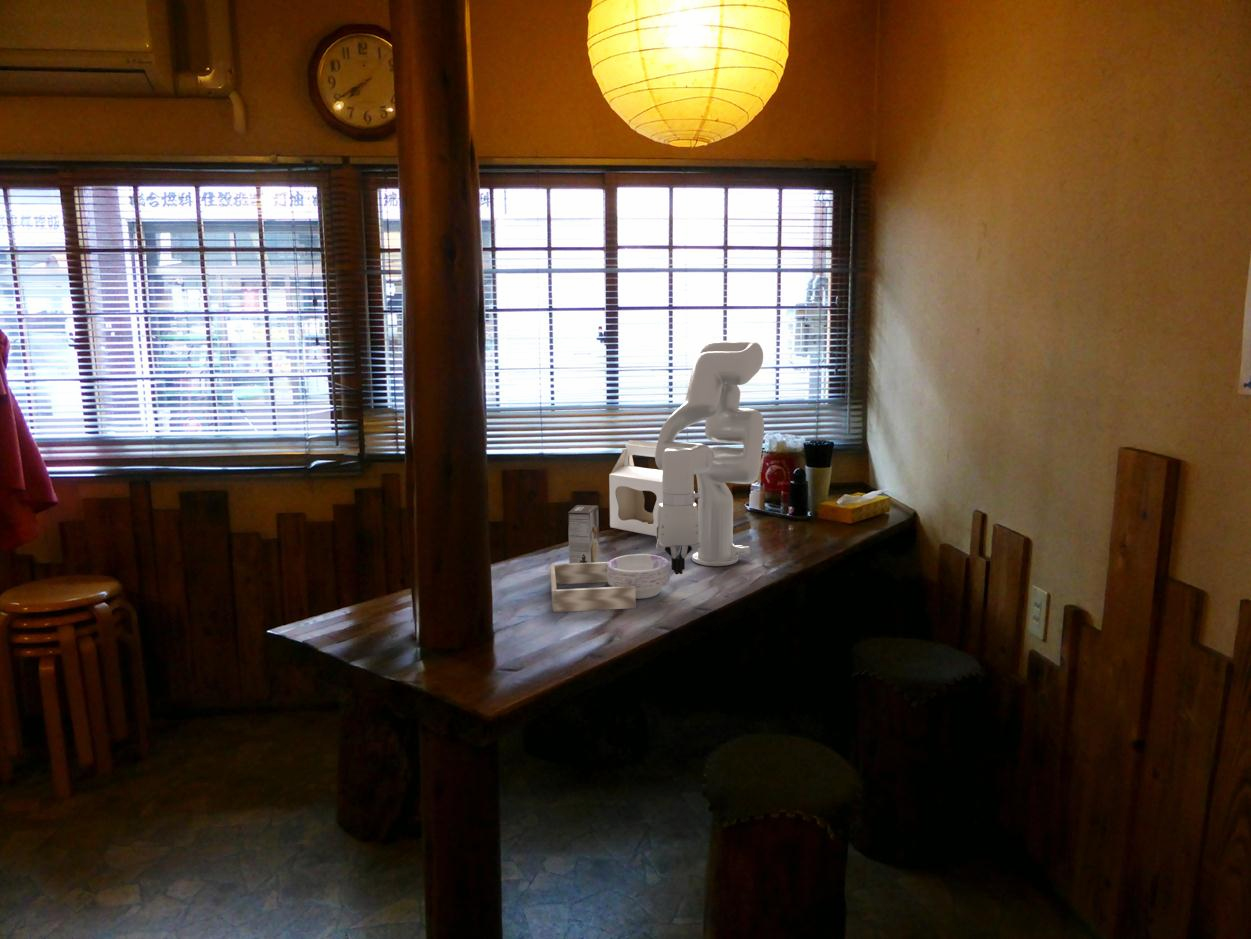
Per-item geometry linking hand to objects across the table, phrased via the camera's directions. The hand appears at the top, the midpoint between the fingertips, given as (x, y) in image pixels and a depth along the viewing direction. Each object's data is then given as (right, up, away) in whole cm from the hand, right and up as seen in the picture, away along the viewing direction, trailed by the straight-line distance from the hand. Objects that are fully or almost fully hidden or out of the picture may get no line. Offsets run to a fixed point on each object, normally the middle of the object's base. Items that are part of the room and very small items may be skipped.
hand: (678, 572), depth 197 cm
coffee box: (-24, -1, +22) cm, 33 cm away
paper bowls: (-10, -5, 0) cm, 11 cm away
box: (-21, -5, -1) cm, 21 cm away
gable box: (-5, +6, +62) cm, 62 cm away
